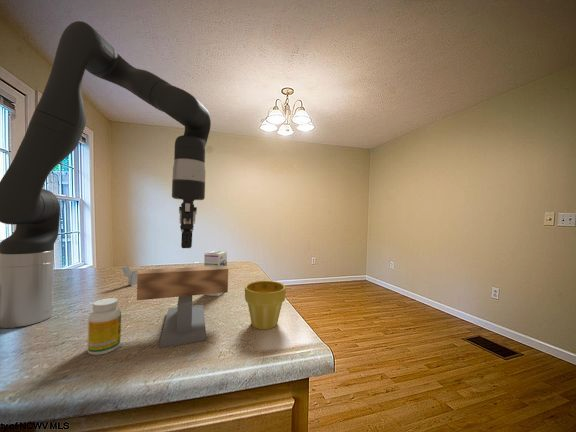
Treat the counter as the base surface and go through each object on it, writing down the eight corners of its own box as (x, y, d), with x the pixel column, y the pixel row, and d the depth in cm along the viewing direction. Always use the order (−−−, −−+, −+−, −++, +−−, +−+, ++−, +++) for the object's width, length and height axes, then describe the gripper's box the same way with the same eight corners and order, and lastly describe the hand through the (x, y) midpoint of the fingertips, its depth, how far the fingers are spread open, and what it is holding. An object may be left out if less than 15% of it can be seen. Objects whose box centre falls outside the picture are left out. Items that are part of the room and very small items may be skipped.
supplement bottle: (85, 348, 49) (86, 300, 49) (117, 338, 53) (118, 295, 53) (89, 359, 45) (91, 308, 45) (123, 348, 49) (124, 301, 49)
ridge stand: (159, 347, 50) (160, 309, 50) (168, 313, 67) (169, 284, 67) (205, 340, 53) (206, 304, 53) (202, 309, 70) (203, 282, 70)
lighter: (137, 282, 94) (137, 262, 94) (140, 282, 94) (141, 262, 94) (120, 287, 87) (121, 265, 87) (124, 288, 87) (124, 266, 87)
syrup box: (219, 296, 81) (220, 253, 81) (203, 295, 82) (204, 252, 82) (226, 291, 87) (227, 251, 87) (211, 290, 88) (212, 250, 88)
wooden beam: (225, 287, 65) (226, 265, 65) (227, 292, 62) (228, 268, 61) (140, 294, 58) (141, 269, 58) (136, 300, 54) (137, 273, 54)
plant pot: (268, 338, 55) (269, 295, 55) (235, 325, 61) (236, 287, 60) (292, 321, 64) (293, 284, 64) (261, 312, 69) (262, 278, 69)
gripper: (206, 177, 54) (204, 249, 54) (204, 184, 68) (202, 242, 68) (169, 174, 52) (167, 250, 52) (174, 182, 65) (172, 242, 65)
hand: (187, 245), depth 60 cm, fingers open, 8 cm apart
